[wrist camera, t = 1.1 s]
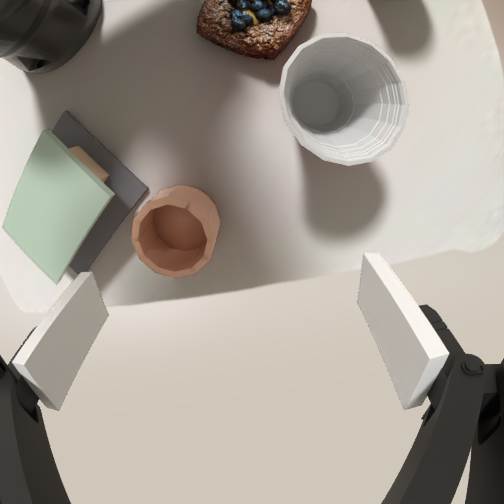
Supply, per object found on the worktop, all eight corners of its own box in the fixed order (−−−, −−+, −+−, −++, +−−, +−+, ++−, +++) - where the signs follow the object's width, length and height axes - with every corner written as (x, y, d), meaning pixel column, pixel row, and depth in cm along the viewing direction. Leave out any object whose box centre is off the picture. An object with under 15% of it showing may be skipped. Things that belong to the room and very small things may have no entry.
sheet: (7, 224, 30) (1, 227, 29) (49, 129, 25) (43, 130, 24) (60, 280, 34) (56, 284, 32) (114, 193, 29) (110, 196, 28)
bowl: (136, 220, 35) (117, 239, 30) (180, 169, 32) (166, 179, 27) (188, 266, 38) (177, 291, 33) (235, 220, 35) (232, 240, 30)
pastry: (187, 40, 26) (174, 25, 21) (232, -35, 21) (228, -57, 16) (277, 71, 28) (282, 62, 22) (318, -5, 23) (329, -24, 18)
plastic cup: (342, 164, 32) (383, 189, 21) (255, 128, 31) (256, 133, 20) (375, 85, 28) (429, 75, 17) (289, 45, 26) (308, 9, 15)
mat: (17, 209, 34) (-2, 220, 30) (67, 111, 29) (44, 113, 24) (84, 275, 39) (68, 293, 34) (148, 187, 33) (133, 199, 29)
